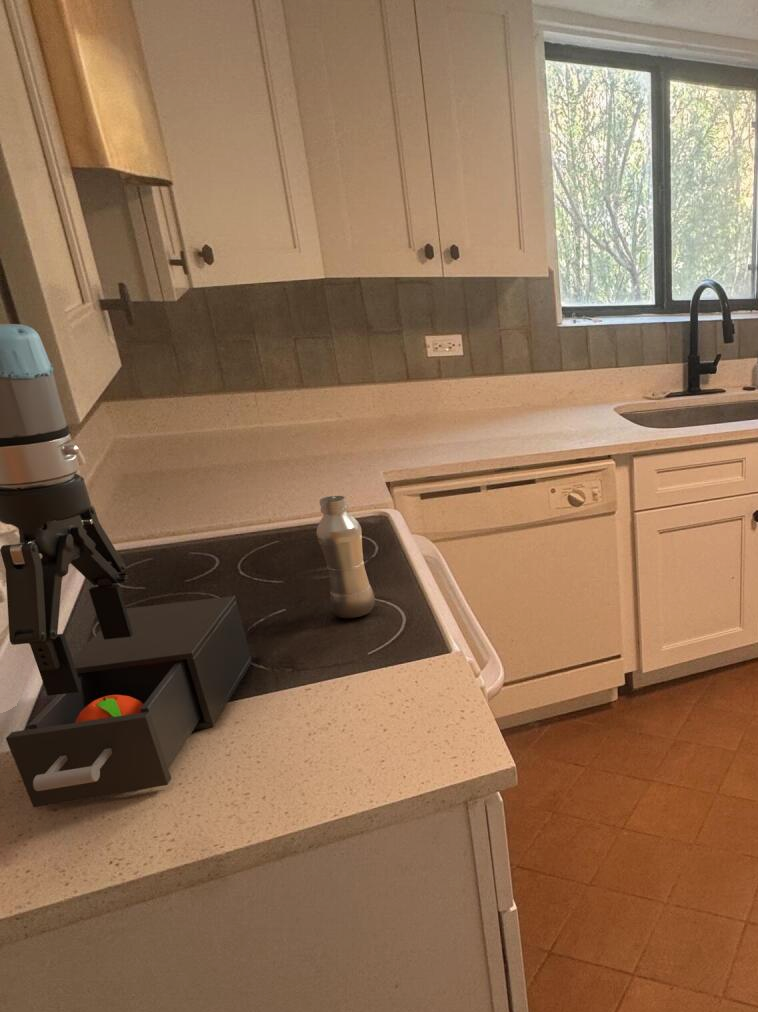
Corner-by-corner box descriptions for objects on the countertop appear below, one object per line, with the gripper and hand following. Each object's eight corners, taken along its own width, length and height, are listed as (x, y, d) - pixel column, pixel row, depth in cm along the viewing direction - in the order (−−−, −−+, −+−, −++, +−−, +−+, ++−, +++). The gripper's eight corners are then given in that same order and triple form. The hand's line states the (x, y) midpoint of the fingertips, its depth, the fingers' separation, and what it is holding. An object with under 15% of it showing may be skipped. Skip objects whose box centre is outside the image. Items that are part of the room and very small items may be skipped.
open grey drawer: (149, 814, 82) (125, 743, 79) (6, 839, 79) (-25, 767, 76) (215, 707, 101) (198, 647, 98) (102, 723, 98) (81, 662, 95)
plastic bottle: (361, 602, 133) (338, 490, 126) (386, 611, 130) (364, 496, 123) (325, 617, 128) (299, 501, 121) (350, 626, 125) (325, 508, 118)
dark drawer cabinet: (213, 727, 99) (192, 652, 95) (86, 746, 95) (58, 670, 91) (252, 661, 115) (235, 595, 111) (144, 676, 111) (122, 608, 107)
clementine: (172, 749, 91) (155, 696, 89) (100, 780, 86) (80, 725, 83) (145, 727, 95) (128, 676, 93) (74, 755, 90) (55, 702, 88)
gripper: (13, 512, 71) (81, 715, 78) (128, 449, 93) (172, 613, 100) (-91, 519, 69) (-11, 727, 76) (52, 453, 91) (103, 620, 98)
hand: (93, 662), depth 88 cm, fingers open, 12 cm apart
